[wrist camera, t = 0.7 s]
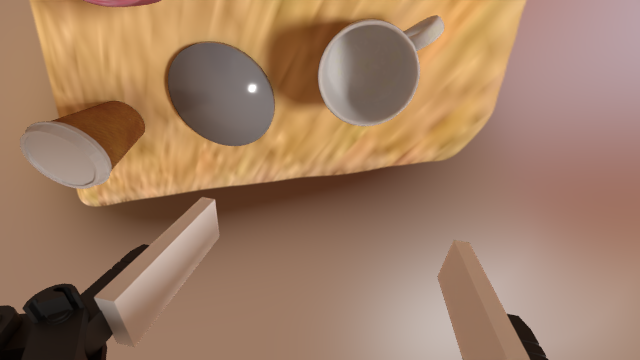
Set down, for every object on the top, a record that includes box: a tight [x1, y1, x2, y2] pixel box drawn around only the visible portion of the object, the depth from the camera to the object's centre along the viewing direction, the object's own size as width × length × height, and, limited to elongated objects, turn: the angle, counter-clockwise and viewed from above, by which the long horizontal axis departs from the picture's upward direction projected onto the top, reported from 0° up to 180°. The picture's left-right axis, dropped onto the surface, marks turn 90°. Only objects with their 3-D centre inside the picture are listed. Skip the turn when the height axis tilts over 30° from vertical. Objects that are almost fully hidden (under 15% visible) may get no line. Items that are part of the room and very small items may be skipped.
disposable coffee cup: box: [20, 101, 145, 189], centre depth 36 cm, size 10×10×12 cm
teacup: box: [318, 15, 444, 126], centre depth 30 cm, size 14×11×8 cm
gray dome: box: [168, 42, 275, 146], centre depth 37 cm, size 15×15×1 cm
